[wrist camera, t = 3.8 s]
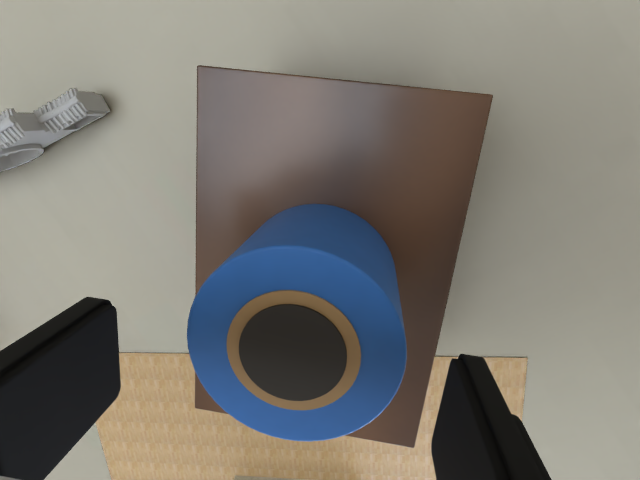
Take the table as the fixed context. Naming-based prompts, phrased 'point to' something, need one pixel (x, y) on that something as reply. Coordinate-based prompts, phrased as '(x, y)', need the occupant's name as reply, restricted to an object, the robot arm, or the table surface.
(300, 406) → the tape
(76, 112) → the lattice window wall
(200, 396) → the brown boxy piece
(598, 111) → the table surface
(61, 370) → the robot arm
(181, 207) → the table surface
